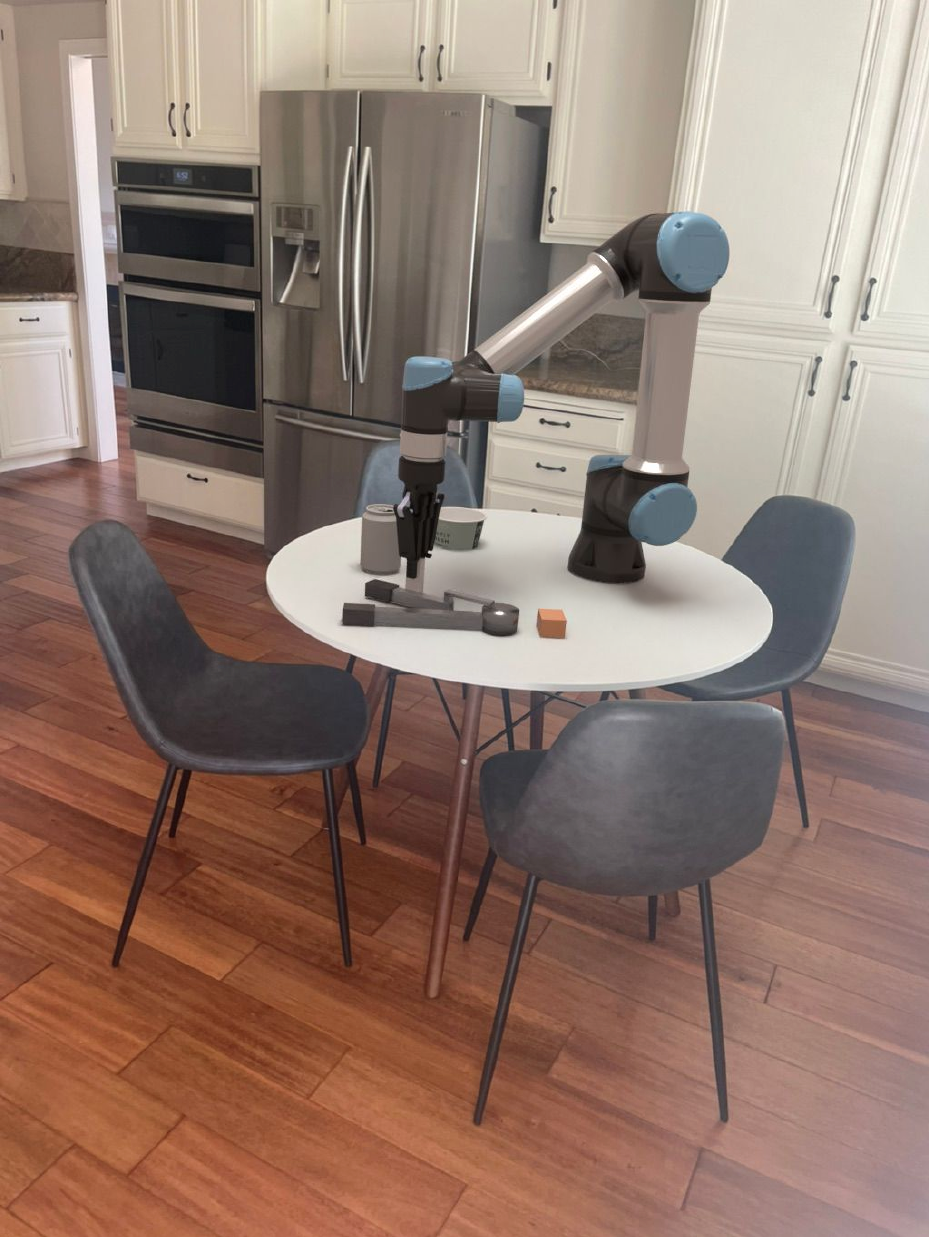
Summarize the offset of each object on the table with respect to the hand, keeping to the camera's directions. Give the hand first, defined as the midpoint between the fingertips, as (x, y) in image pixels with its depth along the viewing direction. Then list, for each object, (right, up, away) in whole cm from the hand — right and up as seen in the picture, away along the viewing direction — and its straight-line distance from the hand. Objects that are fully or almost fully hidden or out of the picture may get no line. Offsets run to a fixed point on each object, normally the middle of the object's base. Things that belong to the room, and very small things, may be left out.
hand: (413, 594), depth 160 cm
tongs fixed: (+3, -5, -9) cm, 11 cm away
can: (-7, +5, +17) cm, 19 cm away
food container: (+7, +11, +36) cm, 39 cm away
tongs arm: (+3, -3, -3) cm, 4 cm away
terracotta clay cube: (+23, -6, -8) cm, 25 cm away
